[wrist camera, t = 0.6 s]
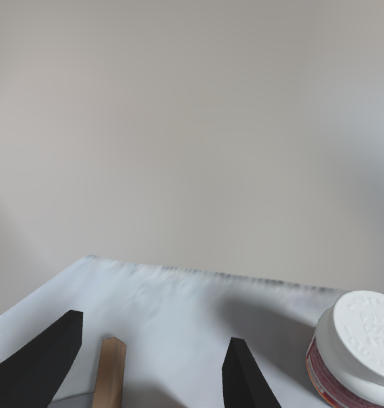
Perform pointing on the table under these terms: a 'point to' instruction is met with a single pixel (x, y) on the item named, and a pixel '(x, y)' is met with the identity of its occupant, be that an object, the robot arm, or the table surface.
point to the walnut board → (110, 375)
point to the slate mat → (74, 402)
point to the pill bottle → (349, 352)
